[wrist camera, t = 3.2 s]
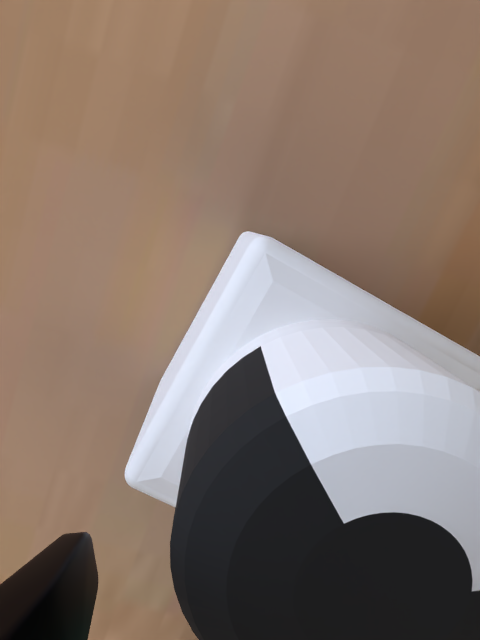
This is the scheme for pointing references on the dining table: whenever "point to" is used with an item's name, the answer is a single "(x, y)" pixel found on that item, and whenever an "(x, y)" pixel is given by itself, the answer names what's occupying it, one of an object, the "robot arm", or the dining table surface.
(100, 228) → the dining table surface
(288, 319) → the medicine bottle
